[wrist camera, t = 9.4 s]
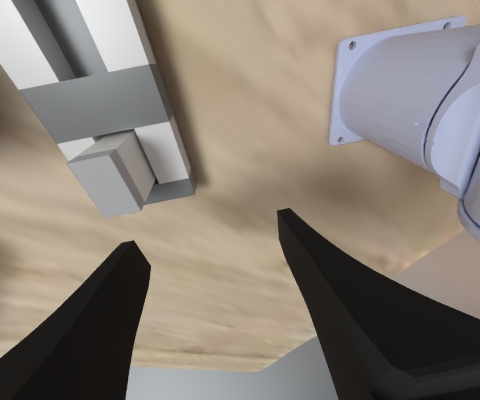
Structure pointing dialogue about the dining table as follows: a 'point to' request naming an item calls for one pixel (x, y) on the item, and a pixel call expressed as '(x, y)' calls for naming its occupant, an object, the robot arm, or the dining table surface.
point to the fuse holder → (95, 81)
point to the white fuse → (115, 173)
